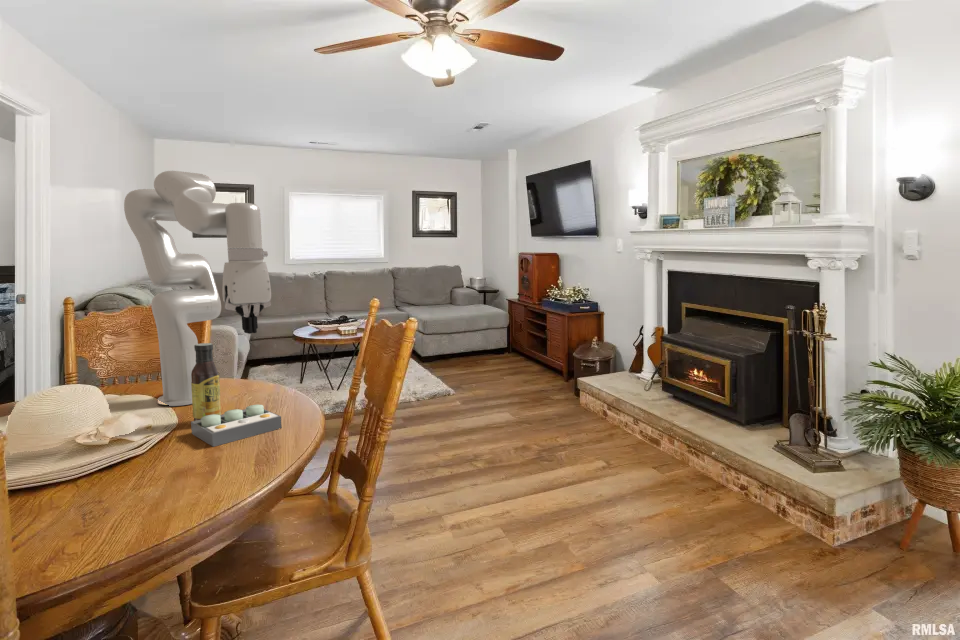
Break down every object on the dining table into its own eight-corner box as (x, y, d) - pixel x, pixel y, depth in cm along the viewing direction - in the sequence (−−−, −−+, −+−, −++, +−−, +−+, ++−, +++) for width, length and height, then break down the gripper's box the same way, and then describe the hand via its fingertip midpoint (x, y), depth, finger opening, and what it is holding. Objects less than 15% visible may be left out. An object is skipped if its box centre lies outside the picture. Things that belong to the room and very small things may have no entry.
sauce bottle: (209, 427, 128) (204, 347, 126) (187, 425, 130) (181, 346, 127) (227, 418, 135) (222, 342, 132) (206, 417, 136) (200, 341, 133)
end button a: (199, 429, 122) (198, 417, 122) (217, 425, 125) (216, 413, 125) (206, 433, 120) (205, 421, 119) (224, 429, 123) (223, 416, 122)
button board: (191, 434, 124) (190, 420, 123) (258, 417, 136) (257, 405, 135) (213, 446, 116) (212, 432, 115) (281, 428, 128) (280, 414, 127)
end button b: (243, 418, 130) (243, 407, 130) (259, 415, 133) (258, 403, 133) (251, 422, 128) (250, 410, 127) (267, 418, 131) (266, 406, 130)
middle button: (222, 424, 126) (221, 412, 126) (238, 420, 129) (238, 408, 129) (229, 428, 124) (228, 415, 123) (246, 423, 127) (245, 411, 126)
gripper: (268, 255, 133) (272, 327, 135) (206, 256, 122) (211, 334, 124) (283, 256, 128) (287, 330, 130) (219, 257, 117) (225, 338, 119)
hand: (250, 332), depth 127 cm, fingers closed
